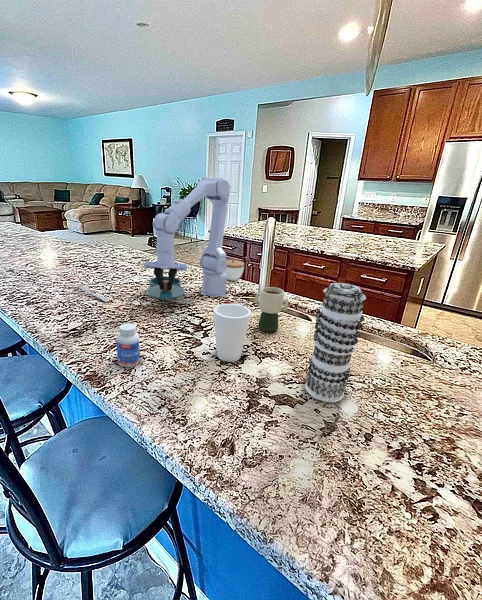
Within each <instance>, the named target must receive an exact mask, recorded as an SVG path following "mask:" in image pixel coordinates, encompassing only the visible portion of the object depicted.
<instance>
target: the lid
mask: <svg viewBox="0 0 482 600" xmlns="http://www.w3.org/2000/svg"><path fill="white" fill-rule="evenodd" d="M146 294H147V295H148V296H149V297H151V298H154V299H160V300H173V299H177V298H180V297H181V298H182V297H183V296H184V295H185V294H186V290H185V289H184V288H183V287H182V286H181V287H179V286H174V285H172V289H171V291H169V281H168V280H164V281H162V290H160V287H159V285H157V286H153V287H150V288H149V287H148V288H147V290H146Z"/></svg>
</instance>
